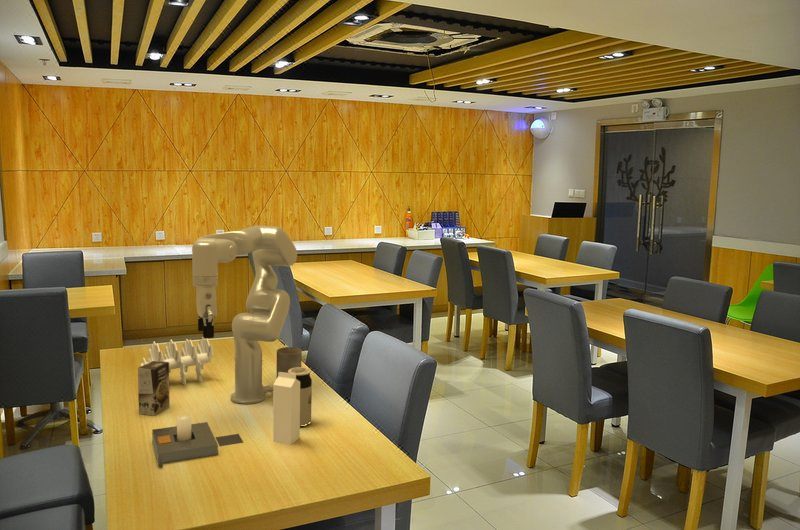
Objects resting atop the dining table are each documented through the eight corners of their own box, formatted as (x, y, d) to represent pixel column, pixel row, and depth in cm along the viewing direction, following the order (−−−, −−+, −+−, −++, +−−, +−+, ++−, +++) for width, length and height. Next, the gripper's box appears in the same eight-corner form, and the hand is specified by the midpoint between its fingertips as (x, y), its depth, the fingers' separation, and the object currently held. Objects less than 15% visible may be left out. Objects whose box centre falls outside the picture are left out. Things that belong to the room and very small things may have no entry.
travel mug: (282, 425, 204) (282, 372, 202) (294, 417, 212) (294, 365, 209) (303, 429, 202) (304, 375, 199) (315, 420, 209) (316, 368, 207)
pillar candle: (279, 379, 250) (279, 343, 248) (303, 380, 250) (303, 344, 247) (273, 388, 240) (273, 350, 238) (299, 389, 240) (299, 351, 238)
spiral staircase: (141, 395, 238) (207, 383, 251) (148, 389, 224) (218, 376, 237) (134, 349, 242) (200, 338, 255) (140, 339, 227) (209, 329, 240)
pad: (238, 436, 194) (238, 433, 194) (243, 445, 188) (243, 442, 188) (215, 440, 191) (215, 437, 191) (219, 449, 185) (219, 446, 185)
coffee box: (155, 416, 209) (154, 369, 206) (138, 414, 210) (136, 367, 208) (170, 406, 218) (169, 361, 215) (153, 404, 219) (152, 359, 217)
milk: (282, 437, 195) (283, 368, 192) (300, 440, 193) (300, 371, 191) (272, 444, 190) (273, 374, 187) (290, 448, 188) (291, 376, 185)
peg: (190, 445, 187) (190, 413, 185) (192, 451, 183) (192, 418, 182) (176, 448, 185) (175, 415, 184) (178, 453, 181) (177, 420, 180)
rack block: (207, 434, 196) (207, 421, 195) (217, 457, 180) (217, 443, 179) (152, 442, 188) (152, 429, 188) (158, 467, 173) (158, 453, 172)
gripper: (222, 284, 190) (223, 339, 192) (212, 276, 205) (213, 327, 207) (197, 286, 186) (197, 341, 189) (188, 277, 202) (189, 328, 204)
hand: (205, 334), depth 198 cm, fingers open, 9 cm apart
